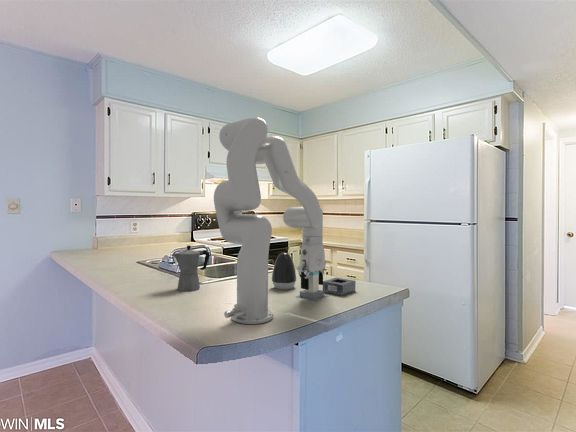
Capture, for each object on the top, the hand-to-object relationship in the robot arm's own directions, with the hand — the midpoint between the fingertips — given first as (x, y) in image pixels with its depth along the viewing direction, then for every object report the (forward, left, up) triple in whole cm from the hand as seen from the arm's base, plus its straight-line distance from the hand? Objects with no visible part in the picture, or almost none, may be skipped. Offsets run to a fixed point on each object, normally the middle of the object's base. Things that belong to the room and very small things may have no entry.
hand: (312, 286), depth 125 cm
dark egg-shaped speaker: (+4, +17, -5) cm, 18 cm away
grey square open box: (0, 0, -4) cm, 4 cm away
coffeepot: (-21, +46, -5) cm, 51 cm away
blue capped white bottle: (0, 0, -4) cm, 4 cm away
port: (+13, -4, -4) cm, 14 cm away
